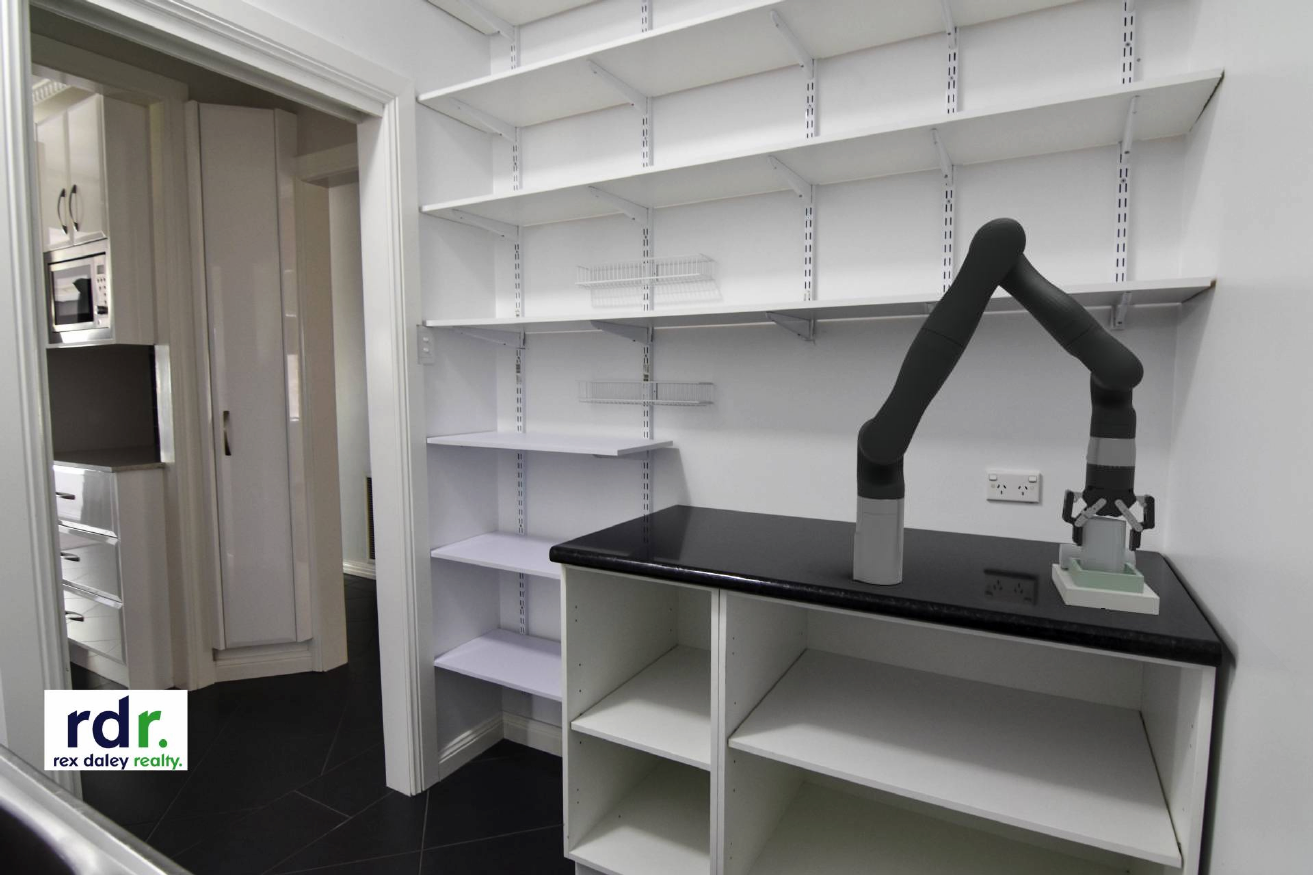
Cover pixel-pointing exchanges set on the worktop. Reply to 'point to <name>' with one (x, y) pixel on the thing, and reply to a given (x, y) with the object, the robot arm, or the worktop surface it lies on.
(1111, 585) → the green piece
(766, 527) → the worktop surface
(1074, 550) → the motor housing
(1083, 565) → the skincare box
